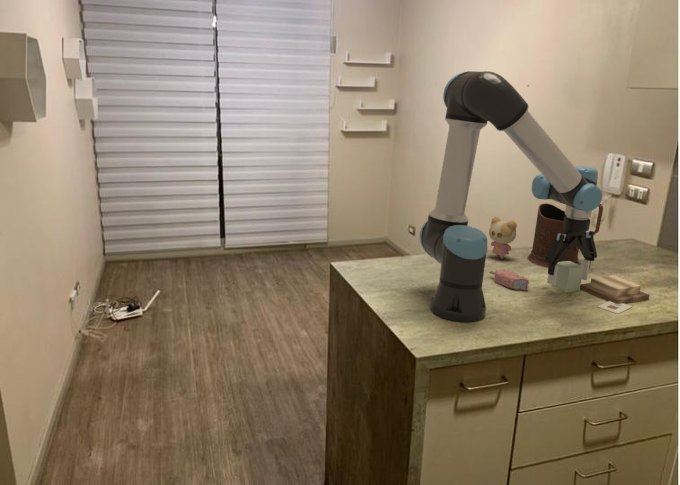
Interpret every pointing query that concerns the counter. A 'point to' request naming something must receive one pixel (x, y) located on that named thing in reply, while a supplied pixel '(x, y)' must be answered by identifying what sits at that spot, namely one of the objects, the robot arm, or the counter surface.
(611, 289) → the base brick
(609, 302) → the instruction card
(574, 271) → the sage brick
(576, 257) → the cup holder
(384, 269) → the counter surface
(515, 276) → the ice cream bar
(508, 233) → the toy
